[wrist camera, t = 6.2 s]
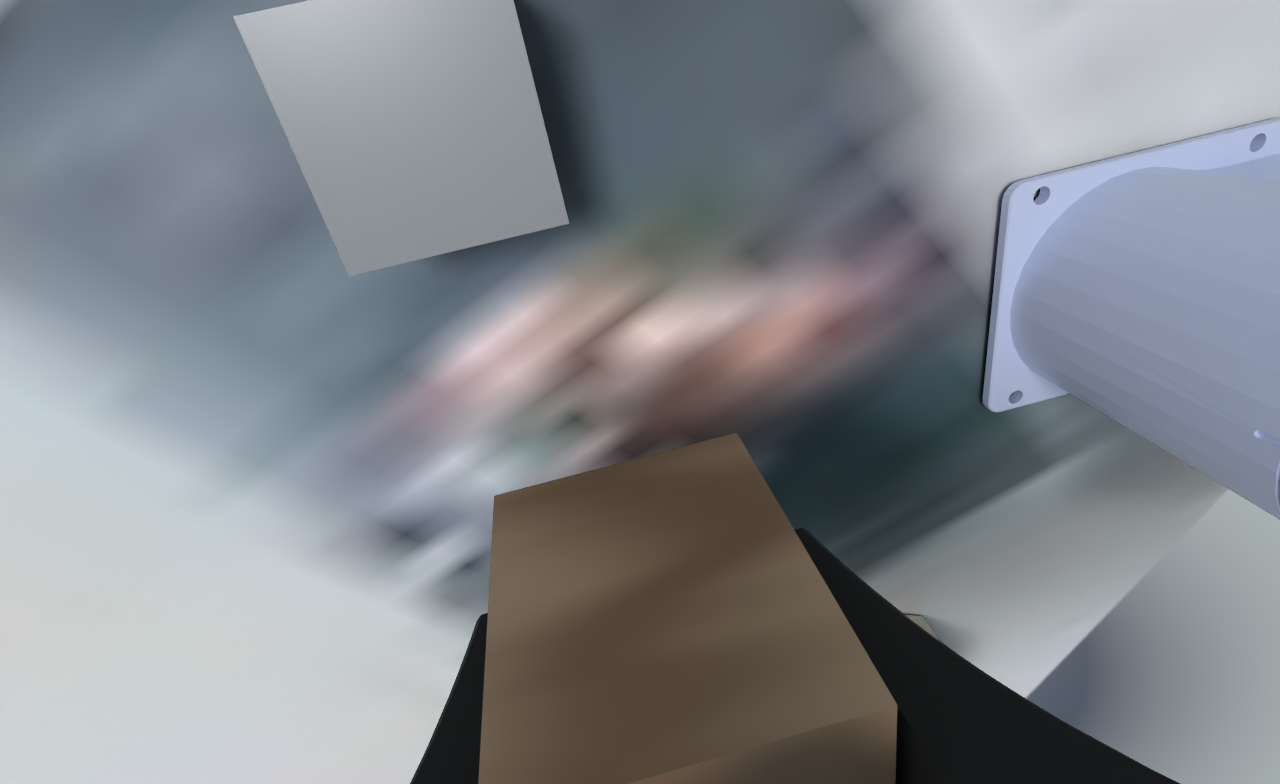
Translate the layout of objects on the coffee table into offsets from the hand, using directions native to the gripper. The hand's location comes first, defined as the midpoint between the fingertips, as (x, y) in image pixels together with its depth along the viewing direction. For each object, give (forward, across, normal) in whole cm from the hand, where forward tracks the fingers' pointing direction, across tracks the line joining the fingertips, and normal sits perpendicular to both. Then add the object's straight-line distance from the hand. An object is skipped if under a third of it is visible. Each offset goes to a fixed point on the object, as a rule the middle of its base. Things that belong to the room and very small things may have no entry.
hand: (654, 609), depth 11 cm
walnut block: (+1, 0, 0) cm, 1 cm away
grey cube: (+10, +2, -8) cm, 13 cm away
